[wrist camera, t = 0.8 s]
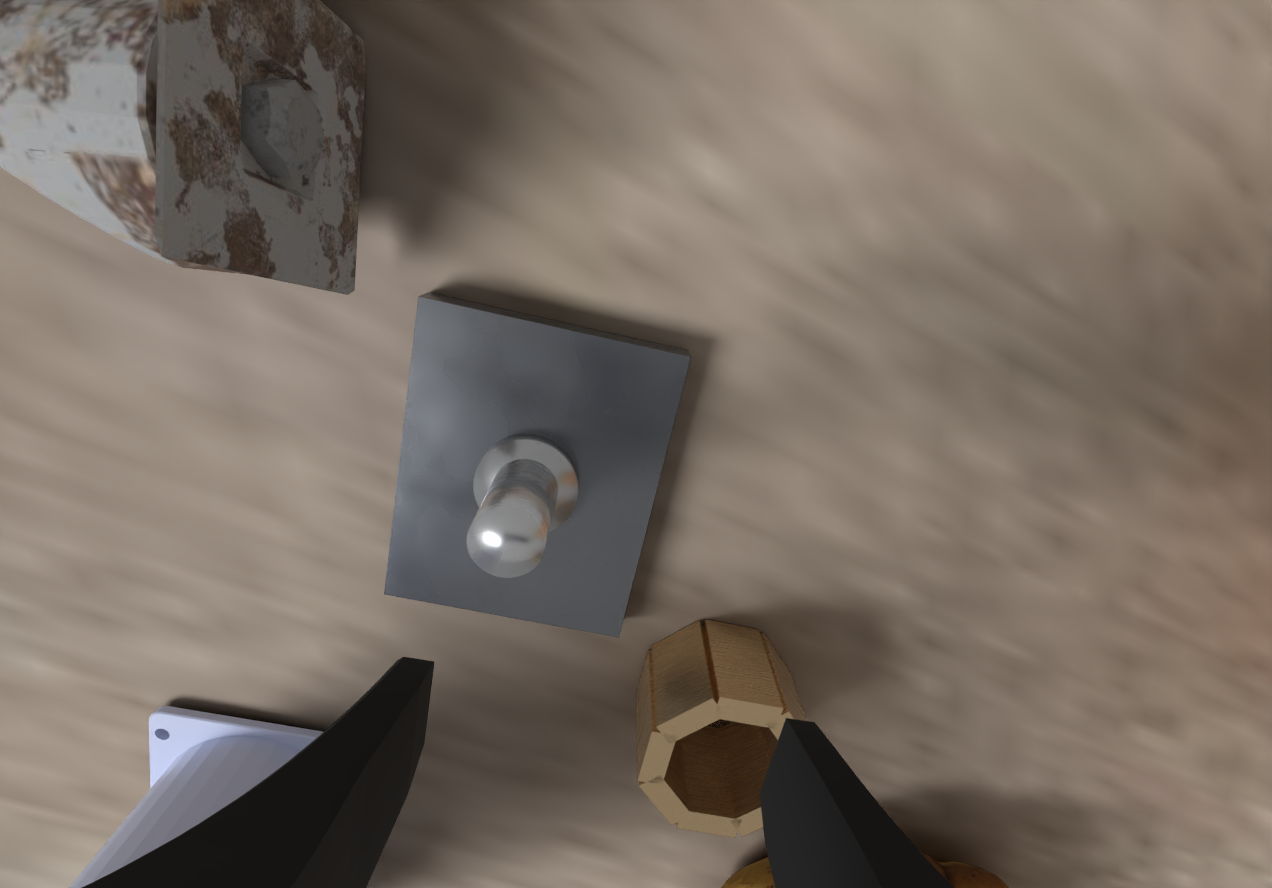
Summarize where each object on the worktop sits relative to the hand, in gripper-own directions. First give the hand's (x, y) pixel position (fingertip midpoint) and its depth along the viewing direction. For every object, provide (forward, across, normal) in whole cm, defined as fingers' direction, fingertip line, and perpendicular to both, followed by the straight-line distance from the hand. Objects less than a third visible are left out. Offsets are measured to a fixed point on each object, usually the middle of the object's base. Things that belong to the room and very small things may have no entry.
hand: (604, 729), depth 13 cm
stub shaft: (+10, +3, -1) cm, 10 cm away
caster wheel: (+10, +14, -11) cm, 21 cm away
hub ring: (+10, -5, +6) cm, 12 cm away
